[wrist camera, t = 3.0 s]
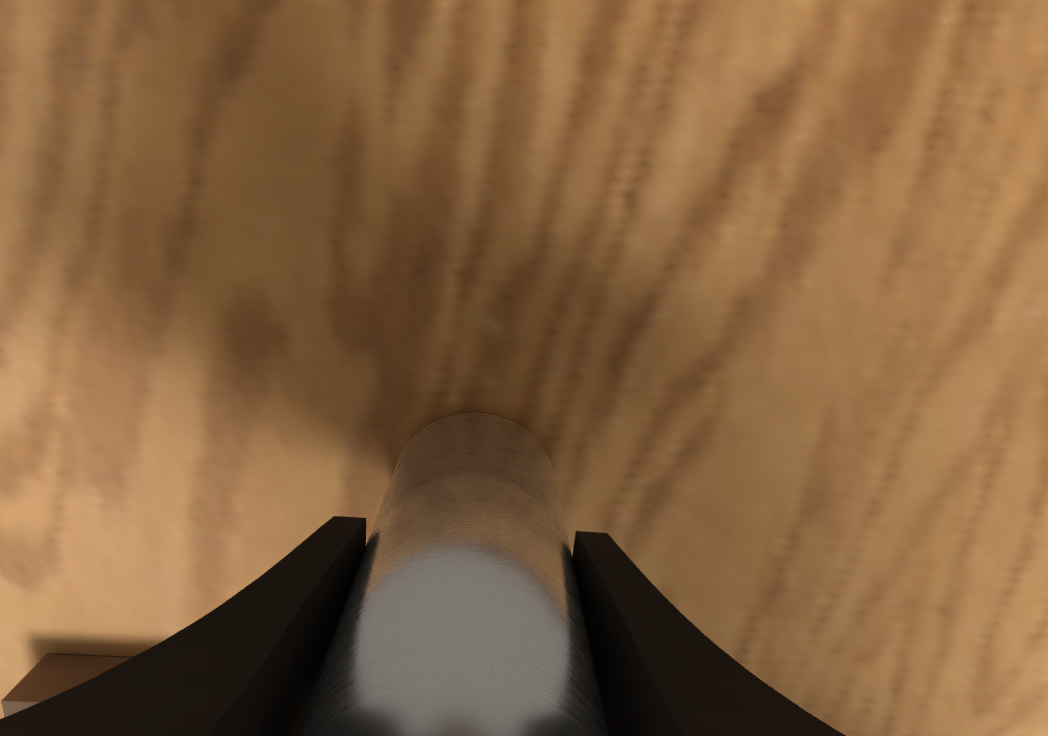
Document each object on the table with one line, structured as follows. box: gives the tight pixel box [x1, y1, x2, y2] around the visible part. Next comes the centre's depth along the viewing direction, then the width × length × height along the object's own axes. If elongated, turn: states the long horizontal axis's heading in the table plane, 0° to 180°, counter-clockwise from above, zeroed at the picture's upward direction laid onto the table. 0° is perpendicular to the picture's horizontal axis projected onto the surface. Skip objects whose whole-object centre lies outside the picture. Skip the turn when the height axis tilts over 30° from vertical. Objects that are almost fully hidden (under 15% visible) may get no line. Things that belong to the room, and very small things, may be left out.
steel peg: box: [296, 412, 609, 736], centre depth 10 cm, size 4×4×8 cm
